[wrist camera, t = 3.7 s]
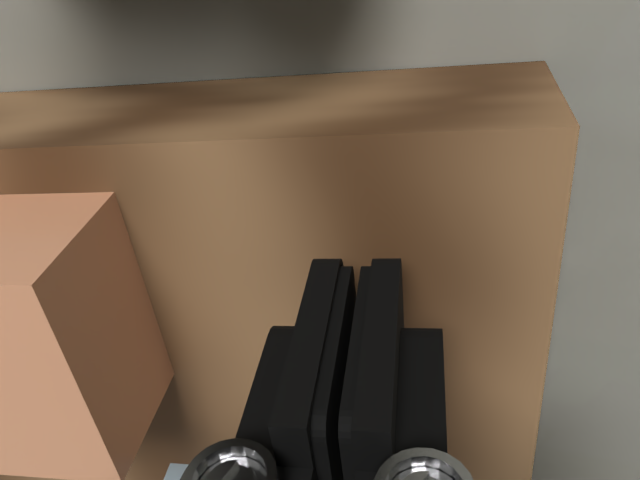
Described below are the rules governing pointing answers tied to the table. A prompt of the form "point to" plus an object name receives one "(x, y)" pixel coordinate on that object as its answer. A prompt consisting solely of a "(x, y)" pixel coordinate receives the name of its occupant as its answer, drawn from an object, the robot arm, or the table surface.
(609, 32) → the table surface
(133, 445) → the block terracotta
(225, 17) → the table surface
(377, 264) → the robot arm
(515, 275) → the board
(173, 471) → the pale blue block
